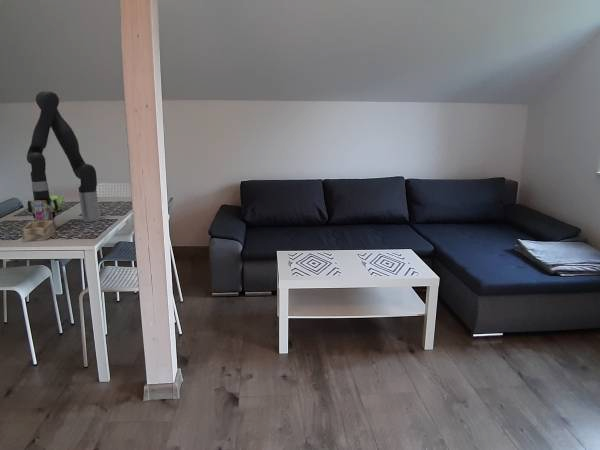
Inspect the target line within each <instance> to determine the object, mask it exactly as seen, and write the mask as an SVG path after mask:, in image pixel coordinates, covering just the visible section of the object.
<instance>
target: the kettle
mask: <svg viewBox="0 0 600 450" xmlns="http://www.w3.org/2000/svg"><path fill="white" fill-rule="evenodd" d="M65 197H67V195H61V196H60V197H59V195H50V198H51V199H52V200H54V199H57V203H58V207H59V209H58V211H60V209H61V205H62V204H63V202H64V198H65ZM59 198H60V199H59ZM32 201H34V199H33V200H32ZM52 207H53V208H54V209H55V206H54V204H53V203H52ZM58 211H57V210H56V211H55V212H56V213H58Z"/></svg>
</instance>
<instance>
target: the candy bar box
mask: <svg viewBox="0 0 600 450" xmlns="http://www.w3.org/2000/svg"><path fill="white" fill-rule="evenodd" d="M50 199H51V198H50ZM51 200H52V199H51ZM32 201H33V200H32ZM46 203H47V201H46V200H36V201H33V204H32V205H33V210H34V212H35V219H36V220H35V219H34V220H35V222H37V221H52V220H53V222H54V227H55V226H56V224H55V218H53V217H52V211H51V210H50V209H49V208H48V207H47V204H46ZM50 205H51V206H52V202H51V203H50Z"/></svg>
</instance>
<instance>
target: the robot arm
mask: <svg viewBox="0 0 600 450" xmlns="http://www.w3.org/2000/svg"><path fill="white" fill-rule="evenodd" d="M35 102H36V104H37V106H38V108H39V109H40V114H39V117H38V119H37V122H36V125H35V127H34V129H33V132H32V137H31V143H30V146H28V151H27V154H26V161H27V163H28V164H30V166H31V171H30V178H31V189H32V194H33V195H32V196H33V200H34V201H36V200H46V201H47V203H46V204H47V207H48V208H49V209H50V210H51V211H52V217H53V218H54V219H55V218H56V217H57V212H56V213H55V211H56V210H58V209H59V207H58V203H57V199H54V200H51V199H50V196H51V194H50V190H49V189H50V188H49V184H48V180H47V174H46V165H47V164H46V157H45V156H44V155H43V153H44V149H46V148H47V144H48V141H49V135H50V130H51V129H52V132H53V133H54V136H55V137H56V140H57V141H58V143H59V145H60V147H61V149H62V150H63V153H64V154H65V155H66V158H67V159H68V161H69V164H70V166H71V169H72V172H73V174H74V175H75V177H76V178H78V179H79V180H80V186H79V187H78V194H79V195H78V196H79V202H80V210H81V217H82V218H81V219H82V222H86V223H91V222H92V223H93V222H98V221H100V220H101V210H100V203H99V202H98V201H99V200H98V195H97V194H98V193H97V187H98V182H97V181H98V180H97V179H98V178H97V171H96V168H95V166H93V165H92V164H89V163H86V162H85V160H84V158H83V156H82V154H81V152H80V144H79V141H78V139H77V136H76V134H75V132H74V130H73V129H72V127H71V126H70V125H69V123H68V122H67V121H66V120H65V119H64V118H63V116H62V115H61V114H60V111H59V109H58V107H59V104H60V98H59V96H58V95H57V93H55V92H53V91H47V90H45V91H39V92H38V93H37V94H36V96H35ZM33 200H28V201H27V211H28V212H29V213H32V217H33V219H34V220H35V221H36V219H35V212H34V209H33V208H32V207H33V206H32V205H33ZM51 202H52V203H53V204H54V206H55V209H54V208H53V207H52V206H51V205H50V203H51ZM59 210H60V209H59ZM59 210H58V211H59Z"/></svg>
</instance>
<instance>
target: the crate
mask: <svg viewBox="0 0 600 450" xmlns="http://www.w3.org/2000/svg"><path fill="white" fill-rule="evenodd" d="M54 222H55V221H54ZM54 222H53V220H52V221H37V222H36V221H29V222H28V223H27V224H26V225H24V227H22V228H21V229H20V234H21V239H22V242H23V243H25V242H35V241H36V242H37V241H38V242H39V241H47V240H49V239H50V237H52V235H53V234H54V233H55V230H56V229H55V226H54Z"/></svg>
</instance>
